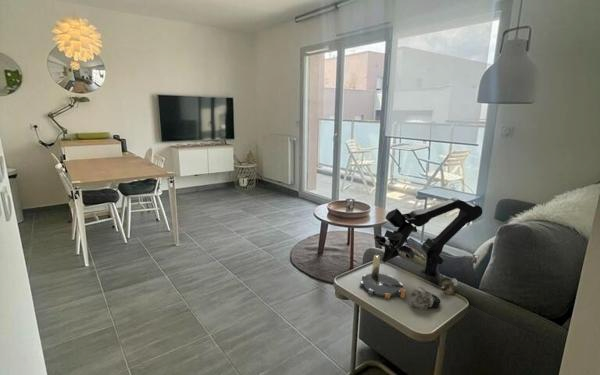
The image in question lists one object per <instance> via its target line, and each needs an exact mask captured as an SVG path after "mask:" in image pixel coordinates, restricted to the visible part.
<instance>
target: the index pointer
mask: <svg viewBox="0 0 600 375" xmlns="http://www.w3.org/2000/svg"><path fill="white" fill-rule="evenodd" d="M400 290H401V295H400V296H399V297H400V298H402V299H406V297H407V291H408V289H405V288H400Z"/></svg>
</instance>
